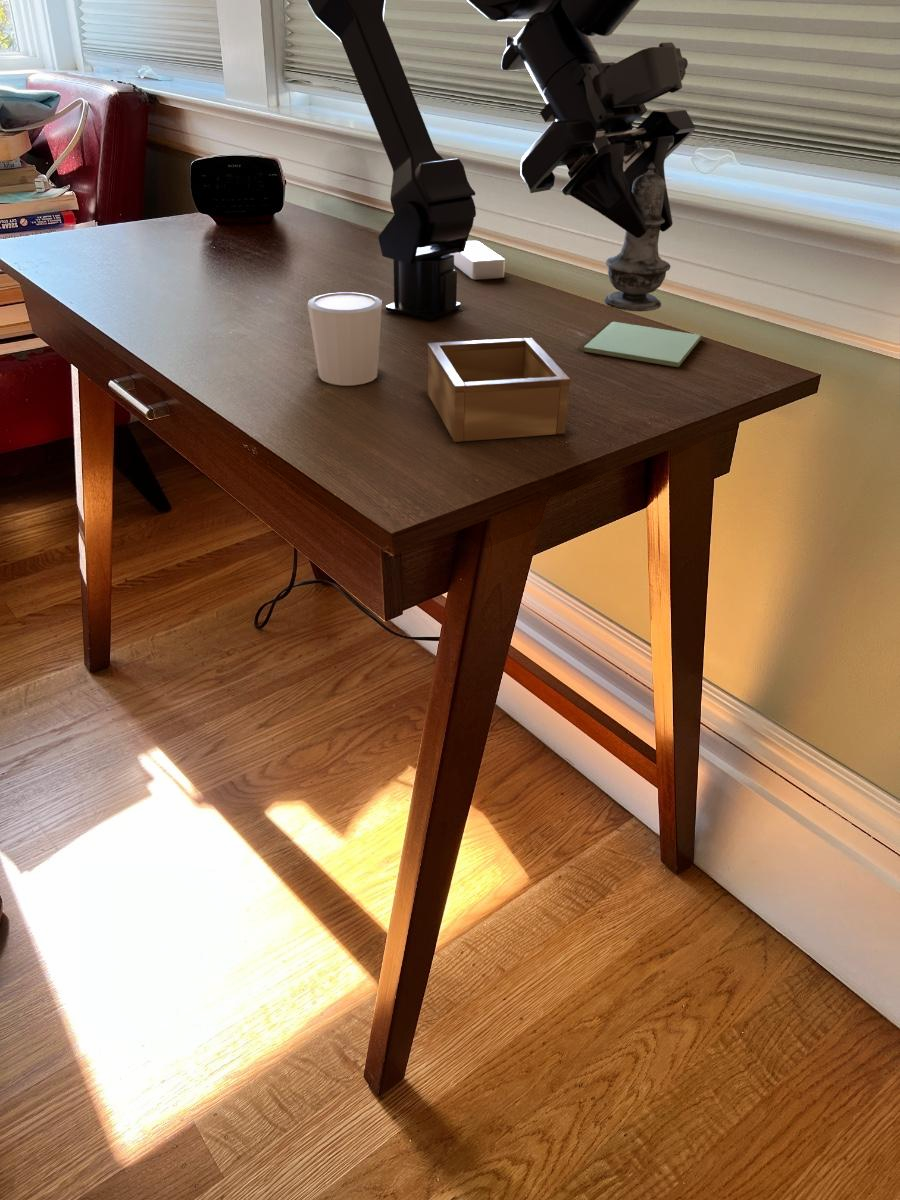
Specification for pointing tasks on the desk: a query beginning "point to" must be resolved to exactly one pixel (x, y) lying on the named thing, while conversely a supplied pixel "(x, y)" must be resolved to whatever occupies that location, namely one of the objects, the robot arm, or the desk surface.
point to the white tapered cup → (346, 336)
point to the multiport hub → (479, 261)
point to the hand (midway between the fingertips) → (655, 231)
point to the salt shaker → (640, 252)
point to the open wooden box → (497, 389)
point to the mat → (643, 344)
